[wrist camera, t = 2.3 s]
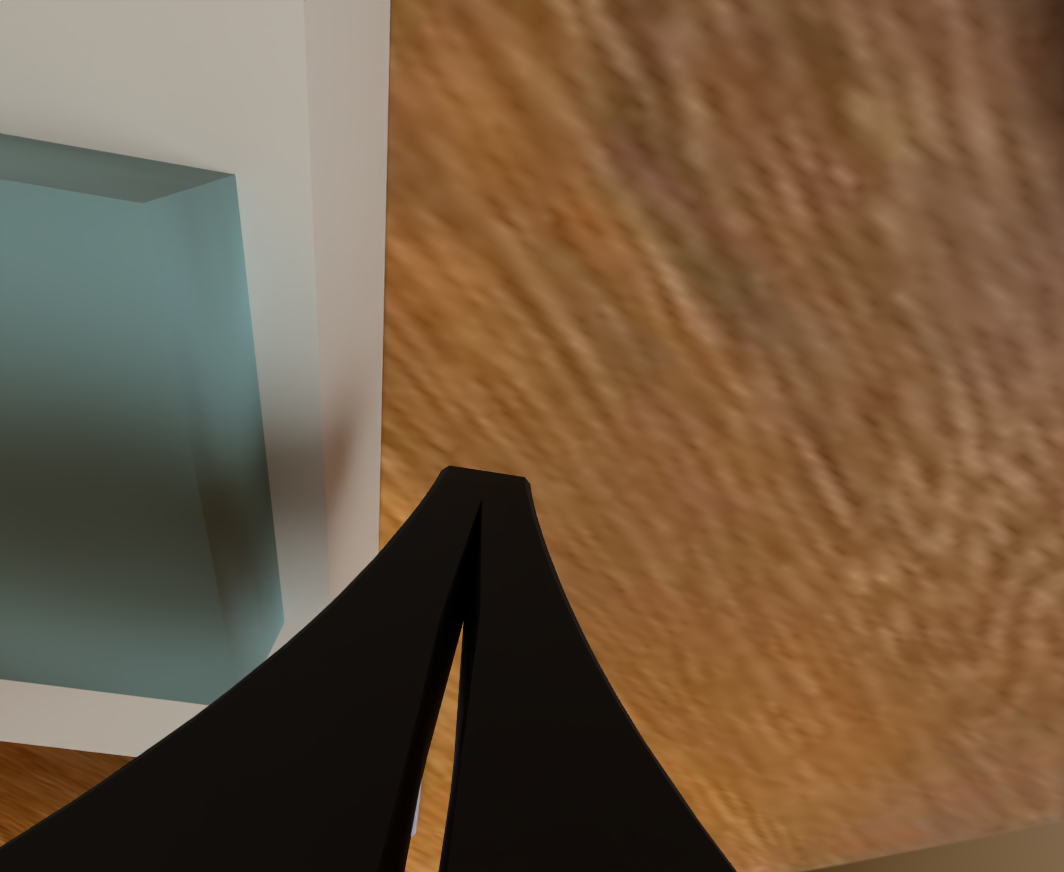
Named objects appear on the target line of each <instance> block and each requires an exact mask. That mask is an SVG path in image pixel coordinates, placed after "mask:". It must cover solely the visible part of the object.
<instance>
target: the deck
mask: <svg viewBox="0 0 1064 872" xmlns="http://www.w3.org/2000/svg"><path fill="white" fill-rule="evenodd" d="M389 40H390V0H0V133H2V134H8V135H13V136H19V137H25V138H30V139H36V140H42V141H47V142H53V143H59V144H64V145H70V146H76V147H81V148H87V149H93V150H99V151H104V152H110V153H116V154H121V155H127V156H133V157H138V158H144V159H150V160H155V161H161V162H167V163H172V164H178V165H184V166H190V167H195V168H201V169H207V170H212V171H218V172H224V173H229V174H235V176H236V185H237V194H238V203H239V212H240V221H241V230H242V239H243V248H244V258H245V267H246V276H247V285H248V294H249V303H250V312H251V321H252V330H253V340H254V349H255V358H256V367H257V376H258V385H259V394H260V403H261V412H262V421H263V431H264V440H265V449H266V458H267V467H268V476H269V485H270V494H271V503H272V513H273V522H274V531H275V540H276V549H277V558H278V567H279V576H280V585H281V595H282V604H283V613H284V622H285V623H284V625H283V627H282V629H281V631H280V633H279V635H278V637H277V639H276V641H275V643H274V645H273V647H272V649H271V651H270V653H269V655H268V657H267V659H268V658H269V657H270V656H271V655H273V654H274V653H275V652H276V651H278V650H279V649H280V648H281V647H282V646H283V645H285V644H286V643H287V642H288V641H289V640H290V639H291V638H292V637H294V636H295V635H296V634H297V633H298V632H299V631H300V630H302V629H303V628H304V627H305V626H306V625H307V624H308V623H309V622H311V621H312V620H313V619H314V618H315V617H316V616H317V615H318V614H319V613H320V612H321V611H322V610H323V609H324V608H326V607H327V606H328V605H329V604H330V603H331V602H332V601H333V600H334V599H335V598H336V597H337V596H338V595H339V594H340V593H341V592H342V591H343V590H344V589H345V588H346V587H347V586H348V585H349V584H350V583H351V582H352V581H353V580H354V579H355V578H356V577H357V575H358V574H359V573H360V572H361V571H362V570H363V569H364V568H365V567H366V566H367V565H368V564H369V563H370V562H371V561H372V560H373V559H374V558H375V557H376V556H377V555H378V552H379V506H380V459H381V413H382V366H383V319H384V273H385V226H386V180H387V133H388V87H389ZM207 706H209V705H202V704H194V703H186V702H178V701H170V700H162V699H154V698H146V697H138V696H130V695H122V694H114V693H106V692H98V691H90V690H82V689H74V688H66V687H58V686H50V685H42V684H35V683H27V682H19V681H11V680H3V679H0V741H5V742H14V743H22V744H31V745H39V746H47V747H56V748H64V749H72V750H81V751H89V752H98V753H106V754H114V755H123V756H131V757H137V756H139V755H140V754H142V753H143V752H145V751H146V750H147V749H149V748H150V747H152V746H153V745H154V744H156V743H157V742H159V741H160V740H162V739H163V738H164V737H166V736H167V735H169V734H170V733H171V732H173V731H174V730H176V729H177V728H179V727H180V726H181V725H183V724H184V723H186V722H187V721H188V720H190V719H191V718H193V717H194V716H195V715H197V714H198V713H199V712H201V711H202V710H203V709H205V708H206V707H207Z"/></svg>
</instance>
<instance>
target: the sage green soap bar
mask: <svg viewBox="0 0 1064 872" xmlns="http://www.w3.org/2000/svg"><path fill="white" fill-rule="evenodd" d="M284 623H285V622H284V613H283V604H282V595H281V585H280V576H279V567H278V558H277V549H276V540H275V531H274V522H273V513H272V503H271V494H270V485H269V476H268V467H267V458H266V449H265V440H264V431H263V421H262V412H261V403H260V394H259V385H258V376H257V367H256V358H255V349H254V340H253V330H252V321H251V312H250V303H249V294H248V285H247V276H246V267H245V258H244V248H243V239H242V230H241V221H240V212H239V203H238V194H237V185H236V176H235V174H229V173H224V172H218V171H212V170H207V169H201V168H195V167H190V166H184V165H178V164H172V163H167V162H161V161H155V160H150V159H144V158H138V157H133V156H127V155H121V154H116V153H110V152H104V151H99V150H93V149H87V148H81V147H76V146H70V145H64V144H59V143H53V142H47V141H42V140H36V139H30V138H25V137H19V136H13V135H8V134H2V133H0V679H3V680H11V681H19V682H27V683H35V684H42V685H50V686H58V687H66V688H74V689H82V690H90V691H98V692H106V693H114V694H122V695H130V696H138V697H146V698H154V699H162V700H170V701H178V702H186V703H194V704H202V705H210V704H211V703H213V702H214V701H215V700H217V699H218V698H219V697H220V696H222V695H223V694H224V693H226V692H227V691H228V690H229V689H231V688H232V687H233V686H234V685H236V684H237V683H238V682H239V681H241V680H242V679H243V678H244V677H246V676H247V675H248V674H249V673H250V672H252V671H253V670H254V669H255V668H257V667H258V666H259V665H260V664H262V663H263V662H264V661H265V660H266V659H267V657H268V655H269V653H270V651H271V649H272V647H273V645H274V643H275V641H276V639H277V637H278V635H279V633H280V631H281V629H282V627H283V625H284Z"/></svg>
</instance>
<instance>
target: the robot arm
mask: <svg viewBox="0 0 1064 872" xmlns="http://www.w3.org/2000/svg"><path fill="white" fill-rule="evenodd" d="M463 621H464V623H463ZM462 625H463V637H462V652H461V666H460V680H459V695H458V710H457V724H456V739H455V753H454V765H453V774H452V784H451V793H450V800H449V806H448V813H447V820H446V826H445V833H444V840H443V846H442V853H441V860H440V866H439V872H737V871H736V870H735V869H734V867H733V866H732V865H731V863H730V862H729V861H728V859H727V858H726V857H725V855H724V854H723V853H722V851H721V850H720V849H719V847H718V846H717V845H716V843H715V842H714V841H713V839H712V838H711V837H710V835H709V834H708V833H707V831H706V830H705V829H704V827H703V826H702V825H701V823H700V822H699V820H698V819H697V818H696V816H695V815H694V813H693V812H692V810H691V809H690V807H689V806H688V804H687V803H686V801H685V800H684V798H683V797H682V796H681V794H680V793H679V791H678V790H677V788H676V787H675V785H674V784H673V782H672V781H671V779H670V778H669V776H668V775H667V773H666V772H665V771H664V769H663V768H662V766H661V765H660V763H659V762H658V760H657V759H656V757H655V756H654V754H653V753H652V751H651V750H650V749H649V747H648V746H647V744H646V743H645V741H644V740H643V738H642V736H641V735H640V733H639V732H638V730H637V728H636V727H635V725H634V723H633V722H632V720H631V718H630V717H629V715H628V713H627V712H626V710H625V708H624V707H623V705H622V704H621V702H620V700H619V699H618V697H617V695H616V693H615V692H614V690H613V688H612V686H611V685H610V683H609V681H608V679H607V677H606V676H605V674H604V672H603V670H602V669H601V667H600V665H599V663H598V661H597V659H596V657H595V655H594V653H593V652H592V650H591V648H590V646H589V644H588V642H587V640H586V638H585V636H584V634H583V632H582V630H581V627H580V625H579V623H578V621H577V619H576V617H575V615H574V613H573V610H572V608H571V606H570V604H569V602H568V599H567V597H566V595H565V592H564V590H563V588H562V585H561V583H560V580H559V578H558V575H557V573H556V570H555V568H554V565H553V562H552V560H551V557H550V555H549V552H548V549H547V546H546V544H545V541H544V538H543V535H542V531H541V528H540V525H539V522H538V518H537V515H536V511H535V507H534V503H533V498H532V493H531V486H530V483H529V482H528V481H527V479H526V478H525V477H520V476H514V475H507V474H501V473H494V472H488V471H481V470H475V469H468V468H462V467H455V466H448V467H446V468H444V469H443V470H441V472H440V474H439V476H438V478H437V479H436V481H435V482H434V484H433V485H432V487H431V488H430V490H429V491H428V493H427V494H426V496H425V497H424V498H423V500H422V501H421V503H420V504H419V505H418V506H417V508H416V509H415V510H414V512H413V513H412V514H411V516H410V517H409V518H408V519H407V521H406V522H405V523H404V524H403V525H402V526H401V528H400V529H399V530H398V531H397V532H396V534H395V535H394V536H393V537H392V538H391V540H390V541H389V542H388V543H387V544H386V545H385V547H384V548H383V549H382V550H381V551H380V552H379V553H378V555H377V556H376V557H375V558H374V559H373V560H372V561H371V562H370V563H369V564H368V565H367V566H366V567H365V568H364V569H363V570H362V571H361V572H360V573H359V574H358V575H357V577H356V578H355V579H354V580H353V581H352V582H351V583H350V584H349V585H348V586H347V587H346V588H345V589H344V590H343V591H342V592H341V593H340V594H339V595H338V596H337V597H336V598H335V599H334V600H333V601H332V602H331V603H330V604H329V605H328V606H327V607H326V608H324V609H323V610H322V611H321V612H320V613H319V614H318V615H317V616H316V617H315V618H314V619H313V620H312V621H311V622H309V623H308V624H307V625H306V626H305V627H304V628H303V629H302V630H300V631H299V632H298V633H297V634H296V635H295V636H294V637H292V638H291V639H290V640H289V641H288V642H287V643H286V644H285V645H283V646H282V647H281V648H280V649H279V650H278V651H276V652H275V653H274V654H273V655H271V656H270V657H269V658H268V659H266V660H265V661H264V662H263V663H262V664H260V665H259V666H258V667H257V668H255V669H254V670H253V671H252V672H250V673H249V674H248V675H247V676H246V677H244V678H243V679H242V680H241V681H239V682H238V683H237V684H236V685H234V686H233V687H232V688H231V689H229V690H228V691H227V692H226V693H224V694H223V695H222V696H220V697H219V698H218V699H217V700H215V701H214V702H213V703H211V704H210V705H209V706H207V707H206V708H205V709H203V710H202V711H201V712H199V713H198V714H197V715H195V716H194V717H193V718H191V719H190V720H188V721H187V722H186V723H184V724H183V725H181V726H180V727H179V728H177V729H176V730H174V731H173V732H171V733H170V734H169V735H167V736H166V737H164V738H163V739H162V740H160V741H159V742H157V743H156V744H154V745H153V746H152V747H150V748H149V749H147V750H146V751H145V752H143V753H142V754H140V755H139V756H137V757H136V758H135V759H133V760H132V761H130V762H129V763H128V764H126V765H125V766H123V767H122V768H120V769H119V770H118V771H116V772H115V773H113V774H112V775H111V776H109V777H108V778H106V779H105V780H103V781H102V782H101V783H99V784H98V785H96V786H95V787H93V788H92V789H90V790H89V791H87V792H86V793H84V794H83V795H81V796H80V797H78V798H77V799H75V800H74V801H72V802H71V803H69V804H68V805H66V806H64V807H63V808H61V809H60V810H58V811H57V812H55V813H53V814H52V815H50V816H49V817H47V818H45V819H44V820H42V821H41V822H39V823H38V824H36V825H34V826H33V827H31V828H30V829H28V830H26V831H25V832H23V833H22V834H20V835H19V836H17V837H15V838H14V839H12V840H11V841H9V842H7V843H6V844H4V845H3V846H1V847H0V872H404V871H405V866H406V860H407V855H408V849H409V844H410V839H411V837H412V836H414V835H415V833H416V828H417V822H418V813H419V804H420V794H421V785H422V777H423V772H424V768H425V764H426V759H427V755H428V751H429V748H430V744H431V740H432V736H433V733H434V729H435V725H436V722H437V718H438V714H439V710H440V707H441V703H442V699H443V696H444V692H445V688H446V684H447V681H448V677H449V673H450V670H451V666H452V662H453V658H454V655H455V651H456V647H457V643H458V640H459V636H460V632H461V628H462Z"/></svg>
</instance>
